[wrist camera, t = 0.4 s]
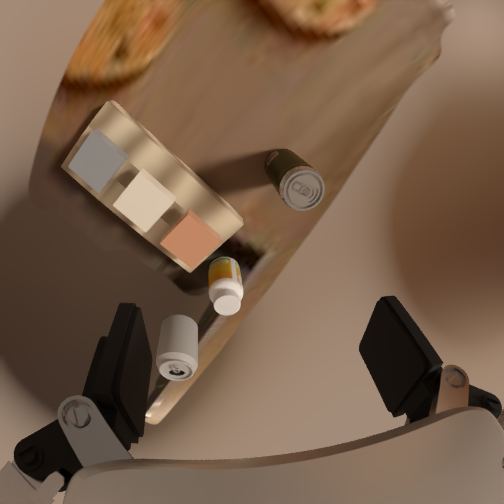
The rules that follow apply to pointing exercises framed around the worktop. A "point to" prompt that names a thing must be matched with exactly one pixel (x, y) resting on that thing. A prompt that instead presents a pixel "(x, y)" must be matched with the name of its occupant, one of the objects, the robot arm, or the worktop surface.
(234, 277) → the supplement bottle
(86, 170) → the slate tile
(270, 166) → the beer can
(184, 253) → the terracotta tile
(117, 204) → the cream tile
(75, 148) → the button board
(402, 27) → the worktop surface
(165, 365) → the can
